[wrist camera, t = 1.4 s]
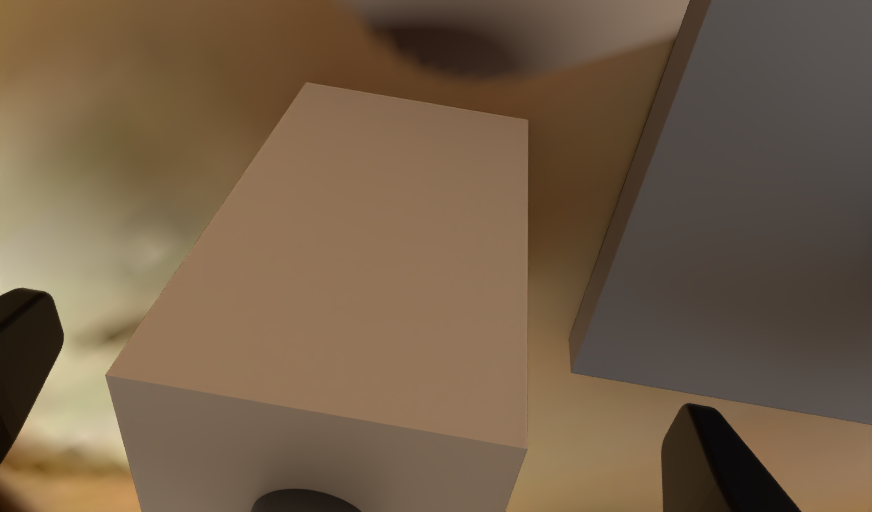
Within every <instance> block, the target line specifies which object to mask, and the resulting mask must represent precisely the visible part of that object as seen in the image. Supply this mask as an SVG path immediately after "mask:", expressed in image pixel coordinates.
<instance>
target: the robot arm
mask: <svg viewBox="0 0 872 512" xmlns="http://www.w3.org/2000/svg"><path fill="white" fill-rule="evenodd" d="M63 341H64V333H63V329H62V326H61V322H60V319H59V316H58V312H57V309H56V306H55V303H54V300H53V297H52V296H51V295H50V294H49V293H47V292H45V291H39V290H33V289H27V288H17V289H14V290H11V291H9V292H7V293H5V294H3V295H1V296H0V464H1V463H2V461H3V460H4V458H5V457H6V455H7V453H8V452H9V450H10V448H11V447H12V445H13V443H14V442H15V440H16V438H17V436H18V434H19V432H20V431H21V429H22V427H23V425H24V423H25V421H26V419H27V417H28V415H29V413H30V411H31V409H32V407H33V405H34V403H35V401H36V399H37V397H38V395H39V393H40V391H41V389H42V387H43V385H44V383H45V381H46V379H47V377H48V375H49V373H50V371H51V369H52V367H53V365H54V363H55V361H56V359H57V357H58V355H59V353H60V351H61V349H62V345H63ZM661 463H662V490H663V512H801V510H800V509H799V508H798V507H797V506H796V504H795V503H794V502H793V501H792V500H791V498H790V497H789V496H788V495H787V494H786V492H785V491H784V490H783V489H782V487H781V486H780V485H779V484H778V483H777V481H776V480H775V479H774V478H773V477H772V475H771V474H770V473H769V472H768V471H767V469H766V468H765V467H764V466H763V464H762V463H761V462H760V461H759V460H758V458H757V457H756V456H755V455H754V454H753V452H752V451H751V450H750V449H749V448H748V446H747V445H746V444H745V443H744V442H743V440H742V439H741V438H740V437H739V435H738V434H737V433H736V432H735V431H734V429H733V428H732V427H731V426H730V425H729V423H728V422H727V421H726V420H725V419H724V417H723V416H722V415H721V414H720V413H719V412H718V411H717V410H716V409H715V408H712V407H709V406H703V405H697V404H691V403H687V404H685V405H683V406H682V407H681V409H680V410H679V412H678V414H677V415H676V417H675V419H674V421H673V423H672V424H671V426H670V428H669V430H668V432H667V434H666V435H665V437H664V440H663V443H662V450H661Z"/></svg>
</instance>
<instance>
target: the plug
mask: <svg viewBox="0 0 872 512" xmlns="http://www.w3.org/2000/svg"><path fill="white" fill-rule="evenodd" d="M105 376H106V380H107V383H108V387H109V391H110V395H111V398H112V402H113V406H114V410H115V413H116V417H117V421H118V424H119V428H120V432H121V436H122V439H123V443H124V447H125V451H126V454H127V458H128V462H129V466H130V469H131V473H132V477H133V481H134V484H135V488H136V492H137V495H138V499H139V503H140V507H141V510H142V512H505V511H506V508H507V505H508V502H509V499H510V497H511V494H512V491H513V488H514V485H515V482H516V480H517V477H518V474H519V471H520V468H521V465H522V463H523V460H524V457H525V454H526V451H527V399H528V120H527V119H521V118H515V117H509V116H503V115H497V114H491V113H486V112H480V111H474V110H468V109H462V108H456V107H450V106H444V105H438V104H433V103H427V102H421V101H415V100H409V99H403V98H397V97H391V96H385V95H379V94H374V93H368V92H362V91H356V90H350V89H344V88H338V87H332V86H326V85H320V84H314V83H309V82H306V83H305V84H304V86H303V87H302V89H301V90H300V92H299V93H298V95H297V96H296V98H295V99H294V100H293V102H292V103H291V105H290V106H289V108H288V109H287V111H286V112H285V114H284V115H283V117H282V118H281V119H280V121H279V122H278V124H277V125H276V127H275V128H274V130H273V131H272V133H271V134H270V135H269V137H268V138H267V140H266V141H265V143H264V144H263V146H262V147H261V149H260V150H259V151H258V153H257V154H256V156H255V157H254V159H253V160H252V162H251V163H250V165H249V166H248V168H247V169H246V170H245V172H244V173H243V175H242V176H241V178H240V179H239V181H238V182H237V184H236V185H235V186H234V188H233V189H232V191H231V192H230V194H229V195H228V197H227V198H226V200H225V201H224V203H223V204H222V205H221V207H220V208H219V210H218V211H217V213H216V214H215V216H214V217H213V219H212V220H211V221H210V223H209V224H208V226H207V227H206V229H205V230H204V232H203V233H202V235H201V236H200V237H199V239H198V240H197V242H196V243H195V245H194V246H193V248H192V249H191V251H190V252H189V254H188V255H187V256H186V258H185V259H184V261H183V262H182V264H181V265H180V267H179V268H178V270H177V271H176V272H175V274H174V275H173V277H172V278H171V280H170V281H169V283H168V284H167V286H166V287H165V288H164V290H163V291H162V293H161V294H160V296H159V297H158V299H157V300H156V302H155V303H154V305H153V306H152V307H151V309H150V310H149V312H148V313H147V315H146V316H145V318H144V319H143V321H142V322H141V323H140V325H139V326H138V328H137V329H136V331H135V332H134V334H133V335H132V337H131V338H130V340H129V341H128V342H127V344H126V345H125V347H124V348H123V350H122V351H121V353H120V354H119V356H118V357H117V358H116V360H115V361H114V363H113V364H112V366H111V367H110V369H109V370H108V372H107V373H106V374H105Z"/></svg>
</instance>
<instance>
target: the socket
mask: <svg viewBox="0 0 872 512" xmlns="http://www.w3.org/2000/svg"><path fill="white" fill-rule="evenodd" d="M569 350H570V364H571V373H575V374H580V375H586V376H592V377H598V378H604V379H609V380H615V381H621V382H627V383H633V384H638V385H644V386H650V387H656V388H661V389H667V390H673V391H679V392H685V393H690V394H696V395H702V396H708V397H714V398H719V399H725V400H731V401H737V402H742V403H748V404H754V405H760V406H766V407H771V408H777V409H783V410H789V411H795V412H800V413H806V414H812V415H818V416H823V417H829V418H835V419H841V420H847V421H852V422H858V423H864V424H870V425H872V0H690V1H689V4H688V7H687V10H686V13H685V15H684V18H683V21H682V24H681V27H680V29H679V32H678V35H677V38H676V41H675V43H674V46H673V49H672V52H671V55H670V57H669V60H668V63H667V66H666V69H665V71H664V74H663V77H662V80H661V83H660V85H659V88H658V91H657V94H656V97H655V99H654V102H653V105H652V108H651V111H650V114H649V116H648V119H647V122H646V125H645V128H644V130H643V133H642V136H641V139H640V142H639V144H638V147H637V150H636V153H635V156H634V158H633V161H632V164H631V167H630V170H629V172H628V175H627V178H626V181H625V184H624V186H623V189H622V192H621V195H620V198H619V200H618V203H617V206H616V209H615V212H614V214H613V217H612V220H611V223H610V226H609V228H608V231H607V234H606V237H605V240H604V242H603V245H602V248H601V251H600V254H599V256H598V259H597V262H596V265H595V268H594V270H593V273H592V276H591V279H590V282H589V284H588V287H587V290H586V293H585V296H584V298H583V301H582V304H581V307H580V310H579V312H578V315H577V318H576V321H575V324H574V326H573V329H572V332H571V335H570V338H569Z"/></svg>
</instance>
